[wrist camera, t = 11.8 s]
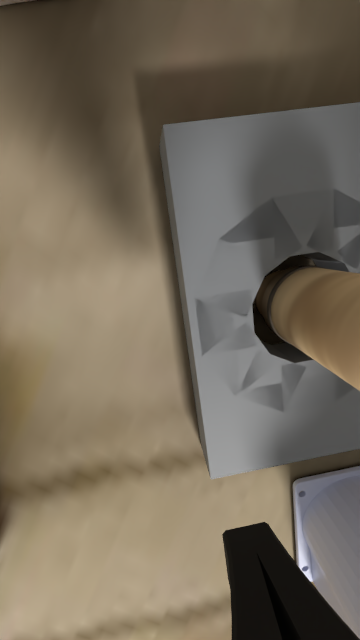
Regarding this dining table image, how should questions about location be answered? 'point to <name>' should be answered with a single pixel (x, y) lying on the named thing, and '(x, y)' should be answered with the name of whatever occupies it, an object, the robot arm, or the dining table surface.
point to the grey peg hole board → (261, 275)
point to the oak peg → (316, 315)
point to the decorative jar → (12, 1)
